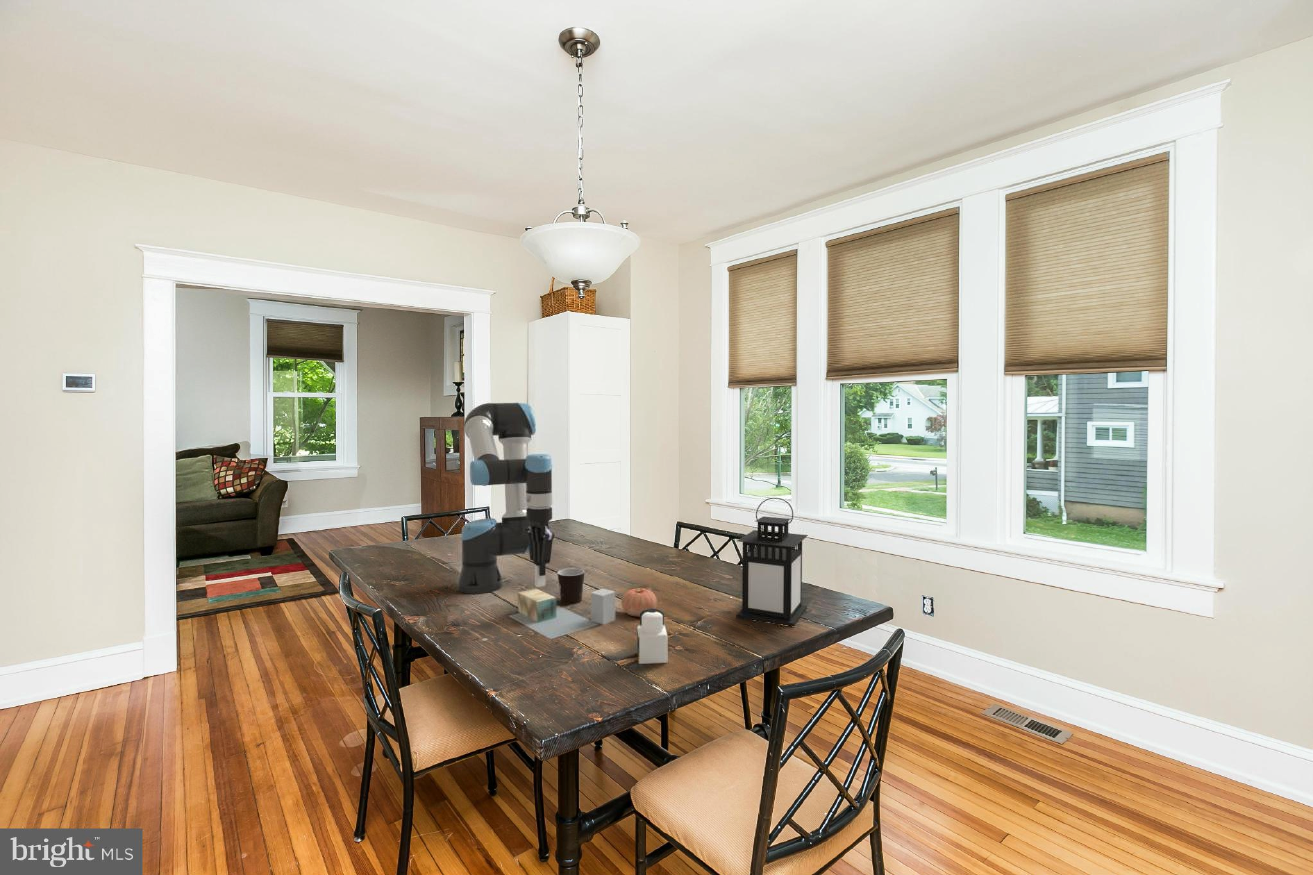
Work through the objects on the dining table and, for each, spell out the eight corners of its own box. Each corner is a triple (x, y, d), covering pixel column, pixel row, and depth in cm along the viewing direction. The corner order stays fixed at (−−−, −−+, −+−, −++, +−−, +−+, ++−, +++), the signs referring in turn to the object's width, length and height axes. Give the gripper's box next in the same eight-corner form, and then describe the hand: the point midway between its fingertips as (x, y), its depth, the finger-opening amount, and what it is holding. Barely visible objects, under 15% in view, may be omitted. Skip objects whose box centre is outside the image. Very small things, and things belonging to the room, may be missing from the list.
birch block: (538, 622, 176) (518, 611, 185) (556, 617, 180) (535, 607, 189) (538, 602, 176) (518, 592, 185) (556, 597, 180) (535, 588, 189)
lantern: (736, 618, 181) (736, 501, 179) (753, 601, 197) (754, 493, 195) (793, 627, 174) (795, 505, 172) (807, 609, 189) (808, 497, 187)
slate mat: (508, 617, 182) (508, 615, 182) (554, 605, 193) (554, 604, 193) (550, 641, 164) (550, 638, 164) (598, 626, 175) (598, 624, 175)
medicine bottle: (637, 652, 156) (636, 606, 156) (664, 651, 157) (664, 605, 156) (638, 664, 149) (638, 616, 149) (667, 663, 150) (667, 615, 149)
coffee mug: (579, 607, 191) (579, 576, 190) (553, 606, 192) (553, 574, 192) (591, 596, 202) (590, 566, 201) (566, 594, 204) (566, 565, 203)
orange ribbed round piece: (640, 606, 192) (640, 581, 192) (664, 614, 184) (664, 588, 184) (614, 614, 184) (613, 588, 184) (638, 623, 177) (638, 596, 176)
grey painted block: (591, 622, 178) (590, 592, 177) (602, 618, 182) (602, 588, 181) (603, 626, 175) (603, 595, 174) (615, 621, 178) (615, 591, 178)
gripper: (516, 505, 182) (518, 583, 183) (539, 511, 172) (540, 593, 173) (539, 502, 187) (540, 578, 188) (562, 508, 177) (563, 588, 178)
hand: (540, 585), depth 181 cm, fingers closed
